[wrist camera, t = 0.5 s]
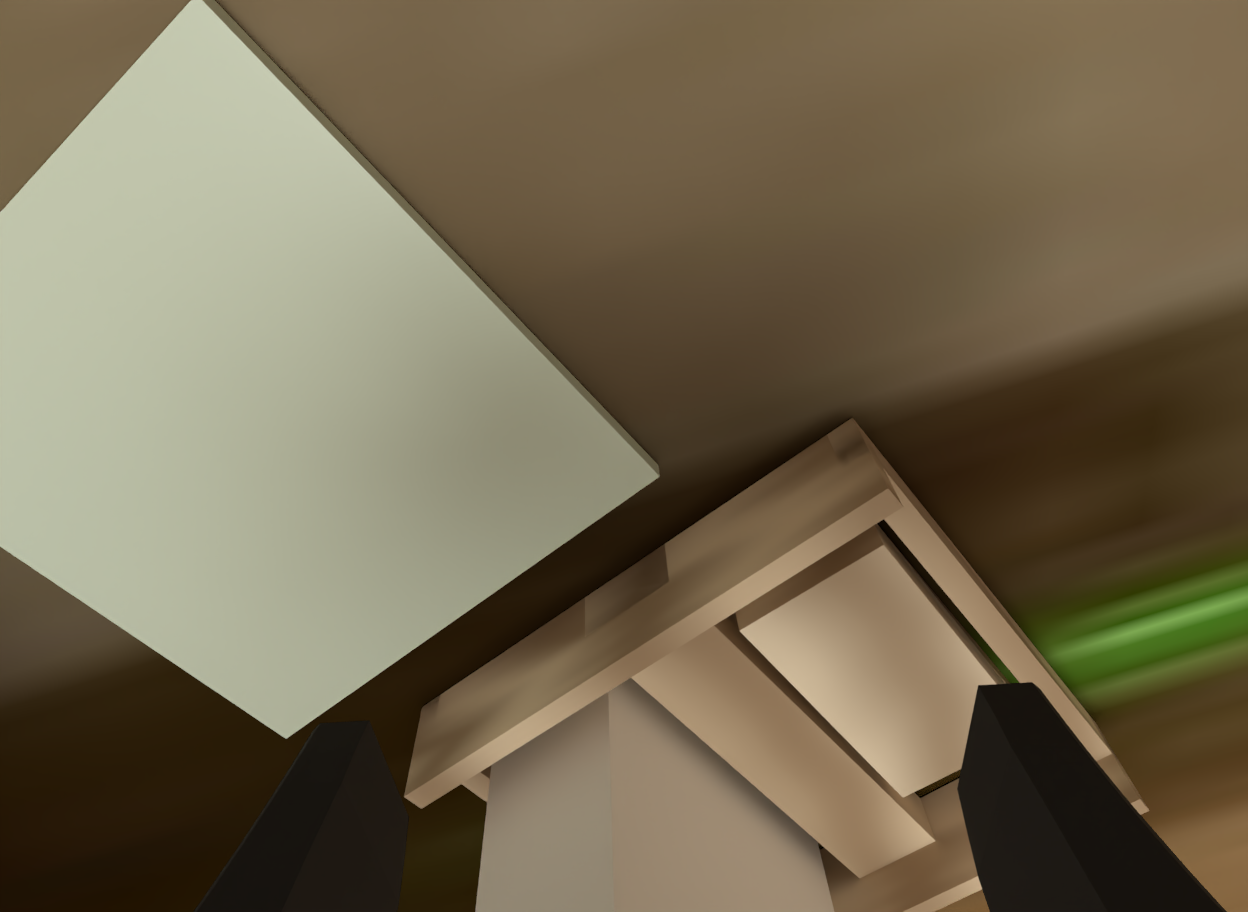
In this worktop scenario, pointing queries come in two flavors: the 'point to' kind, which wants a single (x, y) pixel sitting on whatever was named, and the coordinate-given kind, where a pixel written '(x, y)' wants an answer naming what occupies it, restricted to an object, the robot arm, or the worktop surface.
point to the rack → (754, 676)
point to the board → (270, 390)
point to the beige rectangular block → (638, 823)
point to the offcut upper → (875, 658)
